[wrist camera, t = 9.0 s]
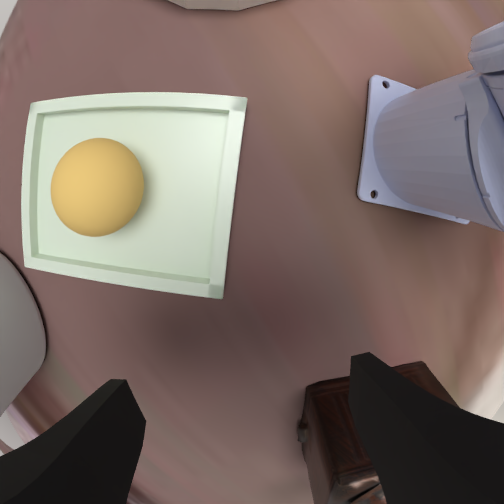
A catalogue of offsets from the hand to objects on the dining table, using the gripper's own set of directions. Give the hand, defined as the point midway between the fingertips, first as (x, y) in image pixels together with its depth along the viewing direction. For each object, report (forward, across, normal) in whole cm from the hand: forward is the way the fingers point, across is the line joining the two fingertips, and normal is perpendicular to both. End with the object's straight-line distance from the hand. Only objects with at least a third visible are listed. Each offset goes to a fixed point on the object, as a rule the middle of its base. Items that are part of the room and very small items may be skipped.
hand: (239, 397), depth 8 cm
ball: (+7, +6, -7) cm, 12 cm away
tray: (+10, +6, -7) cm, 14 cm away
